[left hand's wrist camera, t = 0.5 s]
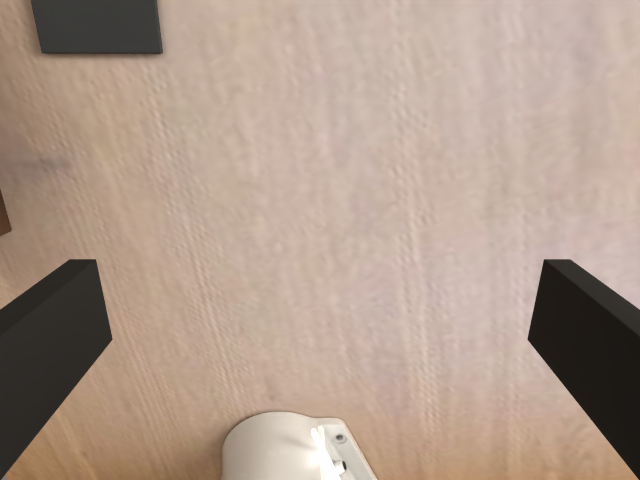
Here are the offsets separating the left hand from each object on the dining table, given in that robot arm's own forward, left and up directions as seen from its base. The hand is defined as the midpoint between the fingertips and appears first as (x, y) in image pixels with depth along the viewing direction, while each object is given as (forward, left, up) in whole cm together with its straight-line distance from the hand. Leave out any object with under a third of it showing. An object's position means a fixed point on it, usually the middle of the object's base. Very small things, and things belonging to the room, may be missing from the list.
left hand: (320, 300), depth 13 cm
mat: (-13, -18, -28) cm, 36 cm away
